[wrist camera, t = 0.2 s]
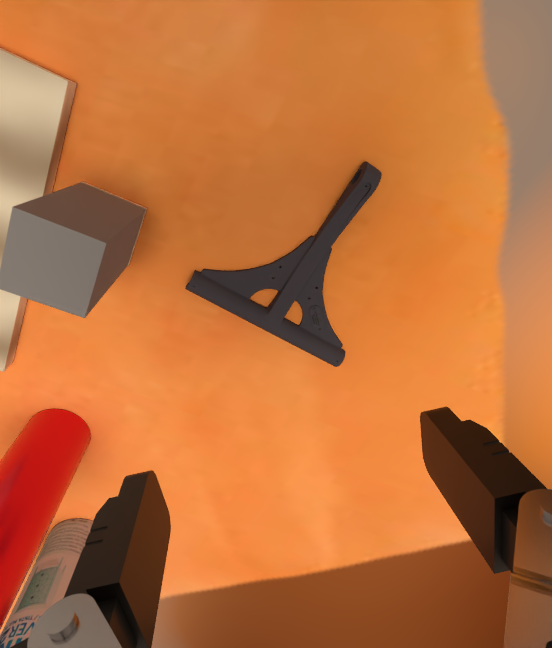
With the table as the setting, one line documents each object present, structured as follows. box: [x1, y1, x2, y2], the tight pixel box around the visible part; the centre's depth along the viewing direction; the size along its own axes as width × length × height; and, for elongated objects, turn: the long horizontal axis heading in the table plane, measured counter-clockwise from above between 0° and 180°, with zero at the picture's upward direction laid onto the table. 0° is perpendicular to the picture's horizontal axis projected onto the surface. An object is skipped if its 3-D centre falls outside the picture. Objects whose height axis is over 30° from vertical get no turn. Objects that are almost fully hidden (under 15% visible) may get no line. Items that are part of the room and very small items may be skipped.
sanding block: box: [0, 181, 147, 318], centre depth 26 cm, size 5×5×10 cm
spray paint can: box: [0, 519, 93, 648], centre depth 35 cm, size 6×6×20 cm
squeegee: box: [185, 162, 381, 367], centre depth 32 cm, size 14×15×3 cm
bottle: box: [0, 409, 91, 629], centre depth 29 cm, size 5×5×20 cm
